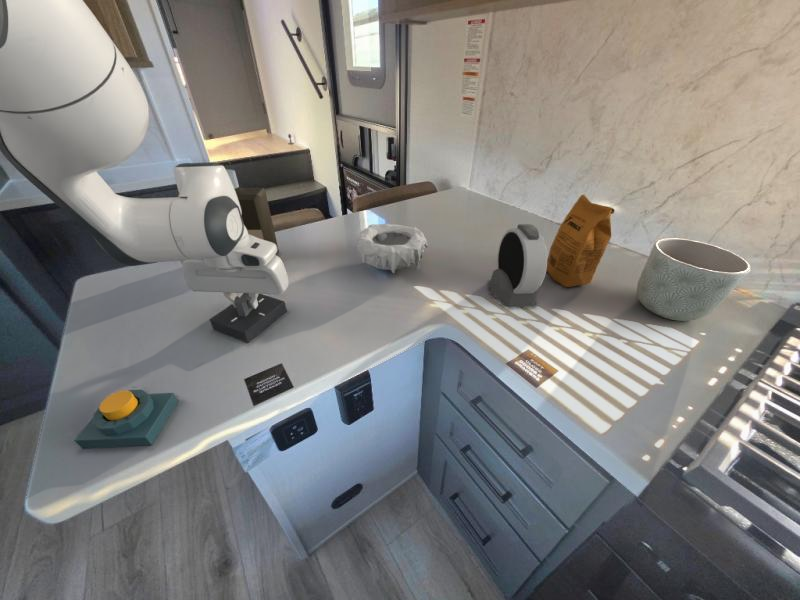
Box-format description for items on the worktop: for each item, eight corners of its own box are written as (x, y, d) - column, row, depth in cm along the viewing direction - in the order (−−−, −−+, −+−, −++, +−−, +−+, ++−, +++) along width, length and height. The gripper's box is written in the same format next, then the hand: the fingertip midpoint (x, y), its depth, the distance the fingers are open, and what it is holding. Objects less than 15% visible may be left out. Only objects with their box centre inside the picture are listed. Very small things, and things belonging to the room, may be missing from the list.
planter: (701, 302, 81) (740, 249, 72) (714, 341, 69) (762, 282, 60) (625, 283, 88) (652, 232, 79) (625, 315, 76) (657, 259, 67)
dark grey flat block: (248, 343, 66) (244, 331, 64) (213, 329, 69) (208, 318, 67) (286, 311, 75) (284, 300, 73) (254, 300, 78) (251, 290, 76)
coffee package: (568, 265, 96) (596, 191, 83) (595, 287, 86) (631, 208, 73) (538, 267, 94) (561, 192, 82) (561, 289, 84) (592, 209, 72)
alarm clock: (482, 277, 89) (495, 214, 78) (517, 275, 90) (534, 213, 79) (503, 312, 76) (522, 242, 65) (544, 310, 77) (568, 241, 66)
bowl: (347, 278, 87) (344, 245, 81) (365, 246, 104) (364, 216, 98) (422, 286, 85) (424, 252, 79) (428, 251, 101) (431, 221, 95)
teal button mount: (81, 448, 47) (65, 433, 45) (117, 403, 53) (105, 387, 51) (152, 445, 48) (139, 430, 45) (178, 400, 54) (169, 385, 52)
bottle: (229, 251, 99) (201, 167, 84) (281, 251, 100) (262, 167, 85) (218, 264, 92) (186, 175, 78) (274, 263, 93) (253, 175, 78)
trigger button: (99, 421, 47) (92, 413, 45) (117, 399, 50) (110, 390, 49) (128, 420, 47) (121, 412, 46) (144, 398, 50) (138, 389, 49)
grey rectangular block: (246, 316, 68) (241, 302, 66) (239, 316, 68) (234, 302, 66) (257, 303, 72) (252, 289, 70) (250, 302, 72) (245, 289, 70)
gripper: (165, 255, 59) (192, 313, 67) (272, 259, 59) (286, 317, 67) (185, 241, 64) (208, 296, 72) (284, 244, 64) (296, 300, 72)
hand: (246, 306), depth 69 cm, fingers closed, pressing on grey rectangular block
